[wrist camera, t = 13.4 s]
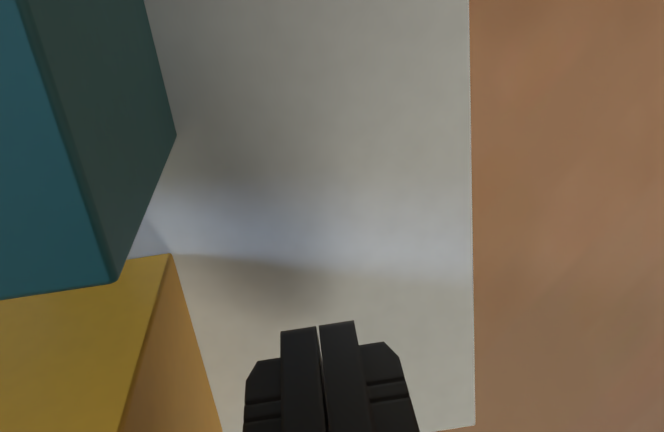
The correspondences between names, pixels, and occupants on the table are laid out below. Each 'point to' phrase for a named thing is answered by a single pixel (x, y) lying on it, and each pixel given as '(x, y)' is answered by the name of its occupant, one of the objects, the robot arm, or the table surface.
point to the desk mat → (320, 185)
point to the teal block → (76, 140)
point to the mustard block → (105, 358)
